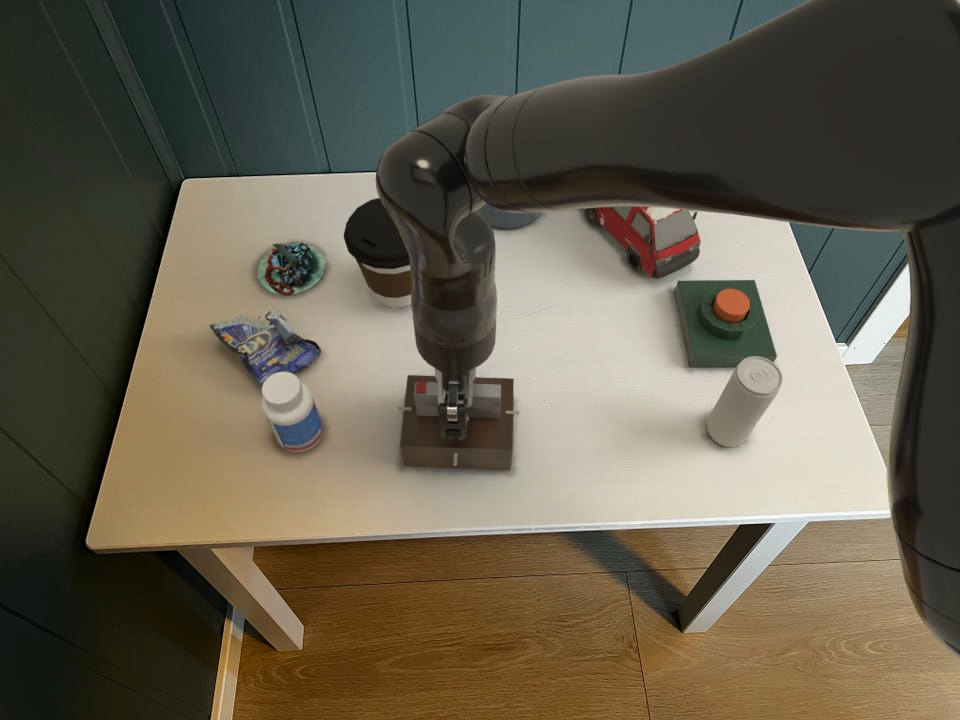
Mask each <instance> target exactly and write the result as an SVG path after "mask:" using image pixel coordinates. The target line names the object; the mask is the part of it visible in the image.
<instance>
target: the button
mask: <svg viewBox="0 0 960 720" xmlns="http://www.w3.org/2000/svg"><path fill="white" fill-rule="evenodd" d="M749 307H750V302H749V299H748V297H747V296H746V295H745V294H744V293H742V292H741V291H739V290H736V289H725V290H722V291H721V292H719V293H718V295H717V297H716V299H715V302H714V304H713V311H714V314H715V315H716V316H717V317H718V318H719V319H720V320H722V321H724V322H728V323H736V322H739V321H741V320H743V319H744V317H745V315H746V313H747V311H748V309H749Z"/></svg>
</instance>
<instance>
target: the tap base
mask: <svg viewBox="0 0 960 720" xmlns="http://www.w3.org/2000/svg"><path fill="white" fill-rule="evenodd" d="M415 382H436V383H438V381H437V380H436V378H435V375H422V374H421V375H420V374H419V375H418V374H408V375H407V377H406V386H405V387H406V388H405V394H404V395H405V396H404V405H403V406H398V408H397V409H398V410H397V411H400V412H401V411H403V413H402V414H403V416H402V424H401V434H400V442H399V448H400V454H401V457H402V459H401V460H402V463H403V464H402V465H403V467H412V468H413V467H416V468H417V467H418V468H441V469H442V468H443V469H469V470H471V469H473V470H496V471H497V470H498V471H500V470H501V471H511V470H512V464H513V463H512V462H513V451H514V415H519V414H520V412H519V410H514V395H515V394H514V392H515V391H514V390H515V388H514V387H515V386H514V385H515V379H514V378H509V377H508V378H505V377H482V376H481V377H480V376H476V377H475V380H474V381H473V384H495V385H501V398H500V417H499V418H474V417H469V422H467V430H468V435H467V437H466V438H464V439H463V440H449V438H447V437H441V434H440V419H439V416H418V415H417V412H416V405H415V397H414V390H415ZM467 384H468V379H467Z"/></svg>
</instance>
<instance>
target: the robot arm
mask: <svg viewBox="0 0 960 720" xmlns="http://www.w3.org/2000/svg"><path fill="white" fill-rule="evenodd" d="M375 189H376V192H377V195H378V198H380V200H381V202H382V204H383V206H384V207H385V209H386V211H387V212H388V214H389V216H390V217H391V219H392V221H393V222H394V224H395V226H396V228H397V230H398V232H399V234H400V236H401V239H402V241H403V243H404V245H405V247H406V250H407V252H408V255H409V263H410V272H411V281H412V287H411V304H410V305H411V306H410V307H411V314H412V322H413V332H414V339H415V346H416V350H417V351H418V354H419V355H420V357H421V358H422V359H423V361H425V363H427V365H429V366H431V367H432V368H434V376H435V378H436V380H437V381H438V404H439V407H438V412H439V419H440V434H441V437H447V438H449V440H463V439H464V438H466V437H467V435H468V430H467V422H469V417H467V411H468V407H470V406H471V405H472V400H473V381H474V380H475V377H477V368H479V367H480V366H482V365H483V364H484V363H485V362H487V360H488V359H489V358H490V356H491V355H492V353H493V352H494V349H495V345H496V341H497V340H496V337H497V336H496V335H497V310H498V307H497V306H498V291H497V285H496V252H497V251H496V248H497V246H496V238H495V233H494V230H493V227H492V225H490V224H489V222H488V221H487V219H486V218H485V217H484V216H482V215H481V214H480V213H478V212H477V210H478V209H480V208H481V207H482V206H484V205H485V204H486V203H487V204H489V205H490V206H492V207H494V208H496V209H499V210H502V211H506V212H512V213H538V212H541V213H548V212H549V213H550V212H564V211H571V210H573V211H574V210H585V208H598V207H615V206H637V207H662V208H673V209H684V210H689V211H690V210H692V211H695V212H705V213H716V214H724V215H725V214H727V215H736V216H744V217H749V218H750V217H751V218H757V219H765V220H770V221H778V222H783V223H784V222H785V223H790V224H796V225H797V224H798V225H804V226H805V225H806V226H813V227H821V228H828V229H837V230H846V231H858V232H871V233H902V234H903V235H902V236H903V240H904V245H905V250H906V256H907V265H908V273H909V292H910V293H909V296H910V297H909V313H908V314H909V315H908V318H909V319H908V325H907V332H906V336H905V337H906V338H905V342H904V344H905V345H904V348H903V349H904V350H903V354H902V360H901V361H902V362H901V365H900V372H899V377H898V382H897V387H896V393H895V394H896V395H895V399H894V400H895V401H894V407H893V413H892V418H891V419H892V420H891V426H890V433H889V438H888V439H889V440H888V448H887V460H886V486H887V496H888V505H889V506H888V507H889V513H890V519H891V522H892V527H893V531H894V536H895V541H896V546H897V550H898V555H899V560H900V564H901V569H902V575H903V579H904V582H905V587H906V590H907V593H908V595H909V597H910V600H911V602H912V604H913V607H914V609H915V611H916V613H917V615H918V616H919V618H920V619H921V621H922V623H923V624H924V625H925V626H926V628H927V629H928V630H929V632H931V634H932V635H933V636H934V637H935V638H936V640H937V641H938V642H939V643H941V645H942V646H944V647H945V648H946V649H947V650H948V651H949V652H950V653H952V654H953V655H954V656H955V657H957V658H958V659H959V660H960V0H806V1H804V2H802V3H801V4H799V5H797V6H795V7H793V8H791V9H789V10H787V11H785V12H784V13H781V14H779V15H778V16H776V17H774V18H772V19H769V20H767V21H765V22H763V23H762V24H760V25H757V26H756V27H754V28H752V29H750V30H749V31H746V32H744V33H742V34H740V35H738V36H737V37H735V38H733V39H731V40H730V39H729V40H728V41H725V43H723V44H720V45H719V46H716V47H714V48H712V49H710V50H708V51H705V52H703V53H700V54H698V55H696V56H694V57H691V58H688V59H685V60H683V61H680V62H677V63H675V64H671V65H669V66H665V67H661V68H658V69H654V70H653V69H652V70H648V71H645V72H639V73H629V74H621V73H620V74H619V73H618V74H614V73H612V74H605V73H604V74H592V75H585V76H580V77H575V78H571V79H566V80H562V81H558V82H553V83H550V84H547V85H544V86H539V87H537V88H534V89H533V88H532V89H530V90H527V91H524V92H520V93H516V94H513V95H509V96H508V95H497V94H496V95H494V94H480V95H475V96H472V97H469V98H466V99H462V100H460V101H458V102H456V103H454V104H451V105H450V106H448V107H446V108H444V109H443V110H442V111H440V112H438V113H437V114H436V115H434V116H433V117H431V118H429V119H428V120H426V121H425V122H422V124H420V125H418V126H416V127H415V128H413V129H411V130H410V131H409V132H407V133H406V134H404V135H403V136H401V137H400V138H398V139H396V140H395V141H394V142H392V143H391V144H390V145H389V146H388V147H387V148H386V149H385V150H384V151H383V153H382V154H381V156H380V158H379V161H378V164H377V167H376V172H375ZM467 379H468V385H467ZM466 386H467V393H465V394H459V393H460V392H463V391H464V390H465V388H466ZM444 390H445V391H446V392H448V393H446V392H445V391H444Z"/></svg>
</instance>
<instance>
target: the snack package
mask: <svg viewBox="0 0 960 720" xmlns="http://www.w3.org/2000/svg"><path fill="white" fill-rule="evenodd" d="M264 317H265V320H267V321H269V322H263V321H257V320H256V321H255V320H253V319H249V318H247V317H244V316H235V317H234V319H232V320H226V321H223V322H220V323H211V324H209V328H210V329H211V331H212V332H213V334H214V336H215V337H217V339H218V340H219V341H220V342H221V343H222V344H223V345H224V346H225V347H227V348H228V350H230V351H231V352H232V353H234V354H236V356H238V357H239V358H240V360H241V362H242V364H243V366H244V367H245V369H246V371H247V372H248V373H249V374H250V375H251V376H252V377H253V378H254V380H255V381H256V382H257V383H258V385H260V386H261V387H262V386H263V383H264V382H265V380H266V379H267V378H268V377H270V376H271V375H273V374H275V373H278V372H289V373H292V374H297V372H299V371H301V370H303V369H307V368H308V366H311V364H312V363H313V362H314V361H315V360H316V358H318V356H319V355H320V354H321V353H322V349H321V347H320V345H319V344H318V343H317V341H314V340H311V339H306V338H304V337H302V336H300V335H298V334H297V332H295V330H294V329H293V328H292V326H291V325H290V323H289V321H288V319H287V317H286V316H284V314H283V313H281V312H280V311H278V310H277V309H275V310H272V311H267V313H266V314H265V315H264ZM257 319H258V320H259V319H261V316H260V315H259V316H258V317H257Z"/></svg>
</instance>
